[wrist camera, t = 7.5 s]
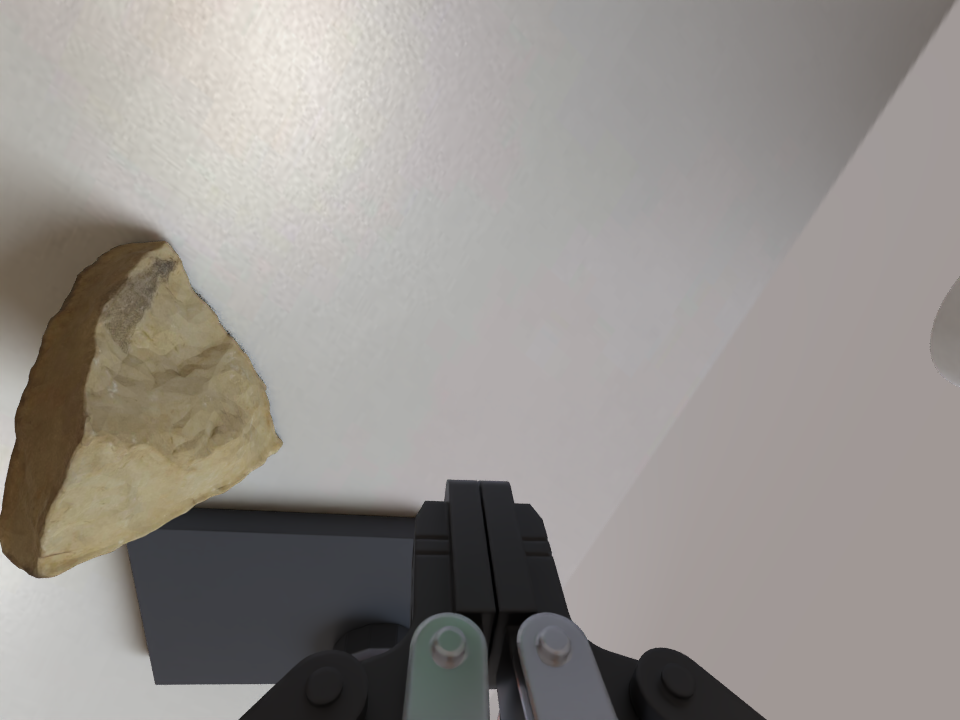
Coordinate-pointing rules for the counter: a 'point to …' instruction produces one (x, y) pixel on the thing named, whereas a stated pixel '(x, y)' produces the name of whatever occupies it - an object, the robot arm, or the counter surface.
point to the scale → (269, 591)
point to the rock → (128, 414)
